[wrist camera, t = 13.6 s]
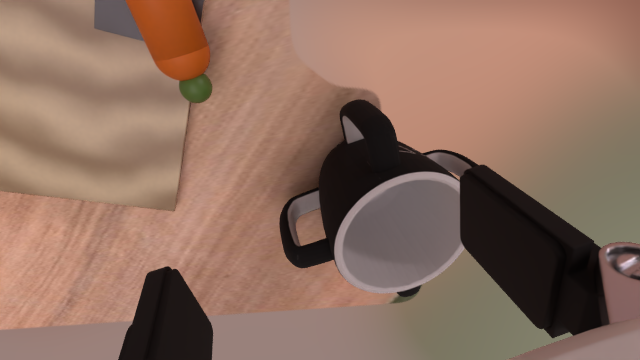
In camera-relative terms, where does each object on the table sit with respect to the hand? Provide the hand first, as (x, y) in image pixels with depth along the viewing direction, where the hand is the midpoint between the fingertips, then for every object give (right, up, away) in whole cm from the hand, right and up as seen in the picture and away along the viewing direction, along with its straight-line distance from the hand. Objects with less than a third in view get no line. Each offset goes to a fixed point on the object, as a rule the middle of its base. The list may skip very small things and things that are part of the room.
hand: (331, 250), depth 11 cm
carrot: (-12, +16, +13) cm, 24 cm away
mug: (+4, +3, +27) cm, 27 cm away
